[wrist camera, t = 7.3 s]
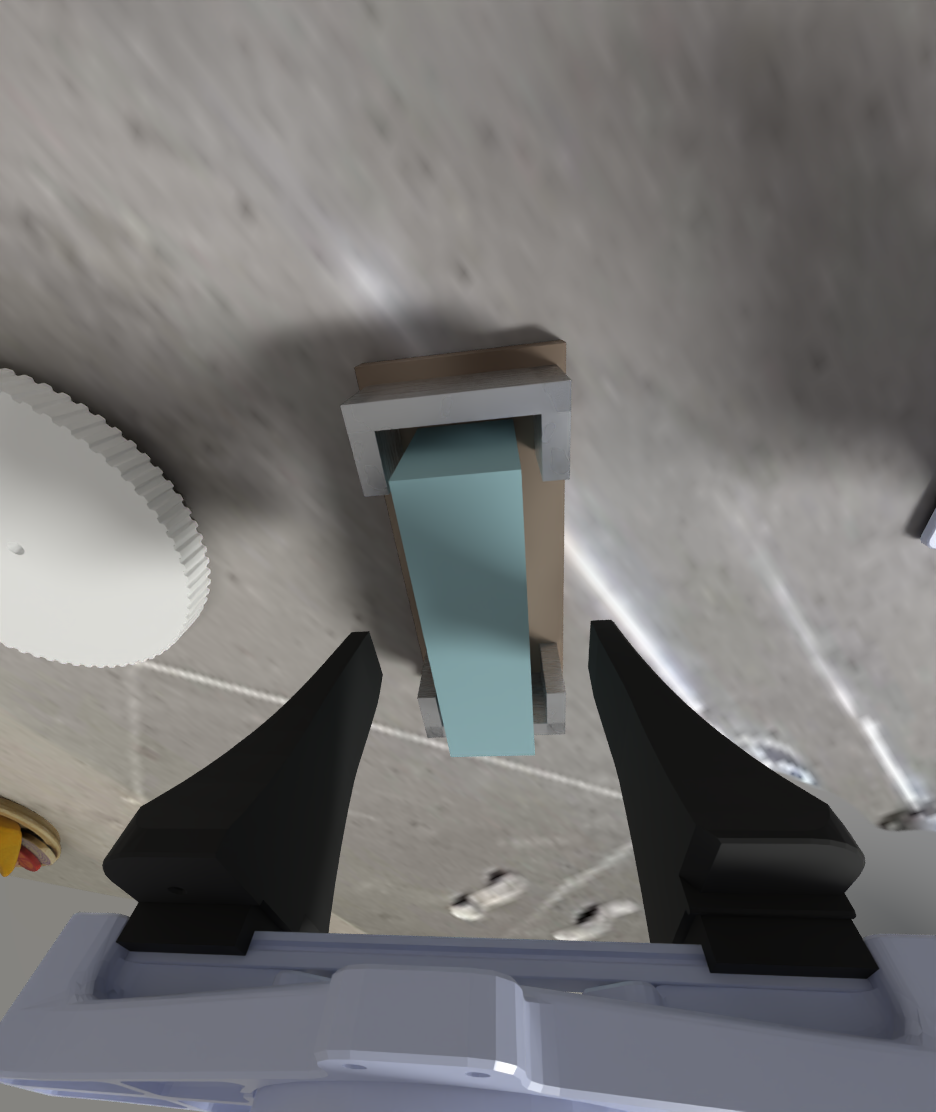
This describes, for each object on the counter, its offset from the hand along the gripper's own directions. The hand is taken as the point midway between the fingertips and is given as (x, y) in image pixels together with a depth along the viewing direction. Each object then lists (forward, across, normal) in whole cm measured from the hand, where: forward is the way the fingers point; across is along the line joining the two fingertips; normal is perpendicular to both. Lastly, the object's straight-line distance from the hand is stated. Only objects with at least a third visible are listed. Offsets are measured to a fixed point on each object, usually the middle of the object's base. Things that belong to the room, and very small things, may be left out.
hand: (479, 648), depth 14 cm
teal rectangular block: (+5, 0, 0) cm, 5 cm away
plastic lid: (+6, +19, -3) cm, 20 cm away
